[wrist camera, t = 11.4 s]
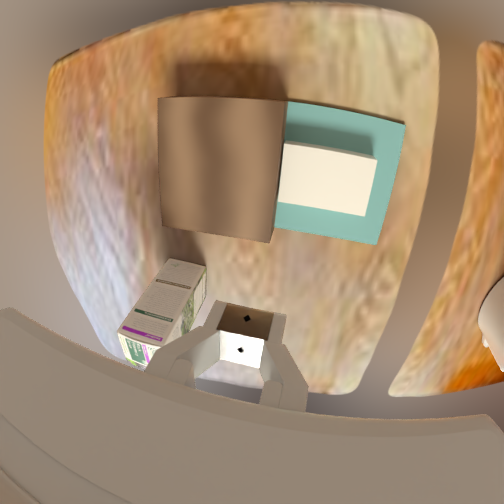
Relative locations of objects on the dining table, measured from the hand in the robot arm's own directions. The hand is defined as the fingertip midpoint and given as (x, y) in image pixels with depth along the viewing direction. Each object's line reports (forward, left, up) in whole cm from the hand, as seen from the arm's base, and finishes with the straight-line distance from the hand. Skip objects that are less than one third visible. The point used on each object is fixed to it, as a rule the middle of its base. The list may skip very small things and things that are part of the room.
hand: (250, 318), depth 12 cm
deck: (+7, -1, -21) cm, 22 cm away
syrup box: (+12, +16, -21) cm, 29 cm away
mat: (-5, -1, -21) cm, 21 cm away
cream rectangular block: (-4, -1, -20) cm, 21 cm away
